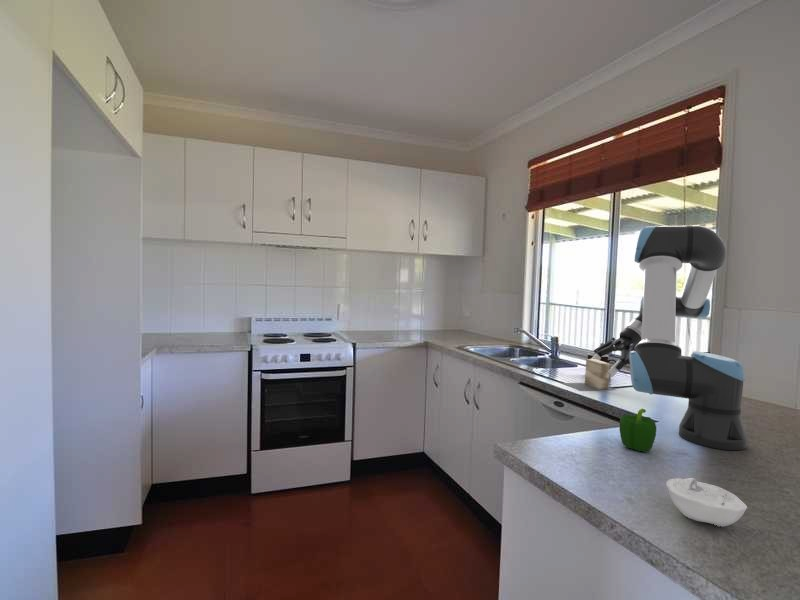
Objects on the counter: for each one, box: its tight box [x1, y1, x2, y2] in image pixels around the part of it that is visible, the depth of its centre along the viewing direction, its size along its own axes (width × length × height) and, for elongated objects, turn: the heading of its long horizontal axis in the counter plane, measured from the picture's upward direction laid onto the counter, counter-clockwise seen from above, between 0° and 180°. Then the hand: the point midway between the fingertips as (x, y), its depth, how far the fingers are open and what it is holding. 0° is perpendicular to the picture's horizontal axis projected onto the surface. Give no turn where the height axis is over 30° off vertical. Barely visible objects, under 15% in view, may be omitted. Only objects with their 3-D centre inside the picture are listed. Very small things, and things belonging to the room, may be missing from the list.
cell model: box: [665, 477, 748, 528], centre depth 78 cm, size 10×12×7 cm
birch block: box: [584, 358, 611, 389], centre depth 173 cm, size 4×9×10 cm, turn 12°
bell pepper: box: [619, 408, 657, 453], centre depth 110 cm, size 8×8×10 cm
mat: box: [562, 382, 616, 392], centre depth 172 cm, size 16×12×1 cm
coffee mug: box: [586, 352, 617, 364], centre depth 191 cm, size 12×9×10 cm
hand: (598, 370), depth 174 cm, fingers open, 13 cm apart
